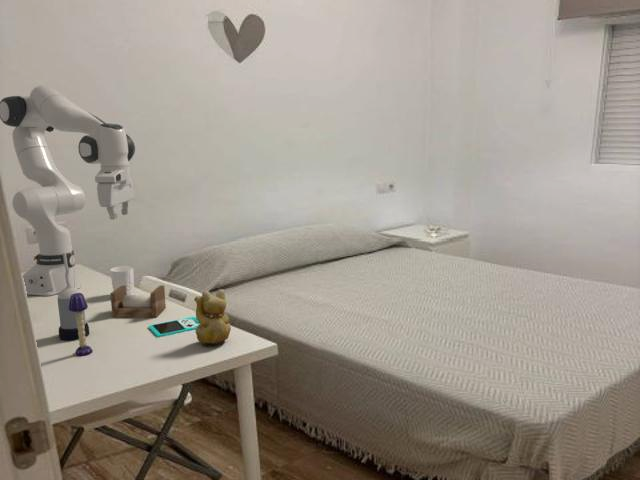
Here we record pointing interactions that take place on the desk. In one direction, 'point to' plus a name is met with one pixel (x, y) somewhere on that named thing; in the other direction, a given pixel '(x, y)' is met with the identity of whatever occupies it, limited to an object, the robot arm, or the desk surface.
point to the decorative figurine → (212, 318)
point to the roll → (137, 301)
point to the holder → (154, 312)
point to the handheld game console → (174, 326)
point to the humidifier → (68, 318)
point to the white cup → (123, 278)
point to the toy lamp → (80, 322)
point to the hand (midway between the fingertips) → (119, 216)
